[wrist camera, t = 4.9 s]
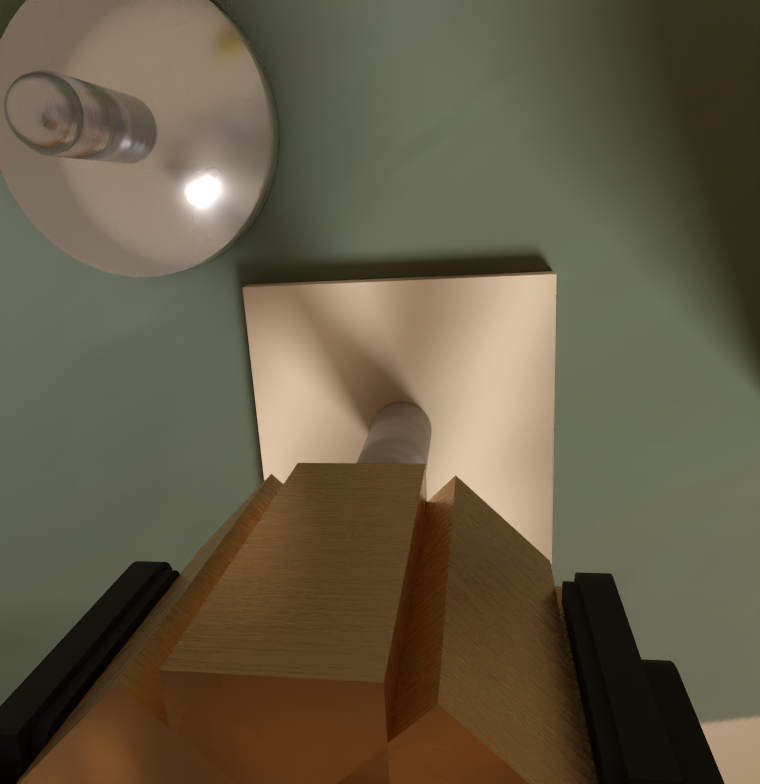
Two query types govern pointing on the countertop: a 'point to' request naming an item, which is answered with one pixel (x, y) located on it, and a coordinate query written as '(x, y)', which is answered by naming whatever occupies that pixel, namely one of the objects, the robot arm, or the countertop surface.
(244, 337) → the countertop surface
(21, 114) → the hub
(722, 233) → the countertop surface
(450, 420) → the stand
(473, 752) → the collar
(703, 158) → the countertop surface
